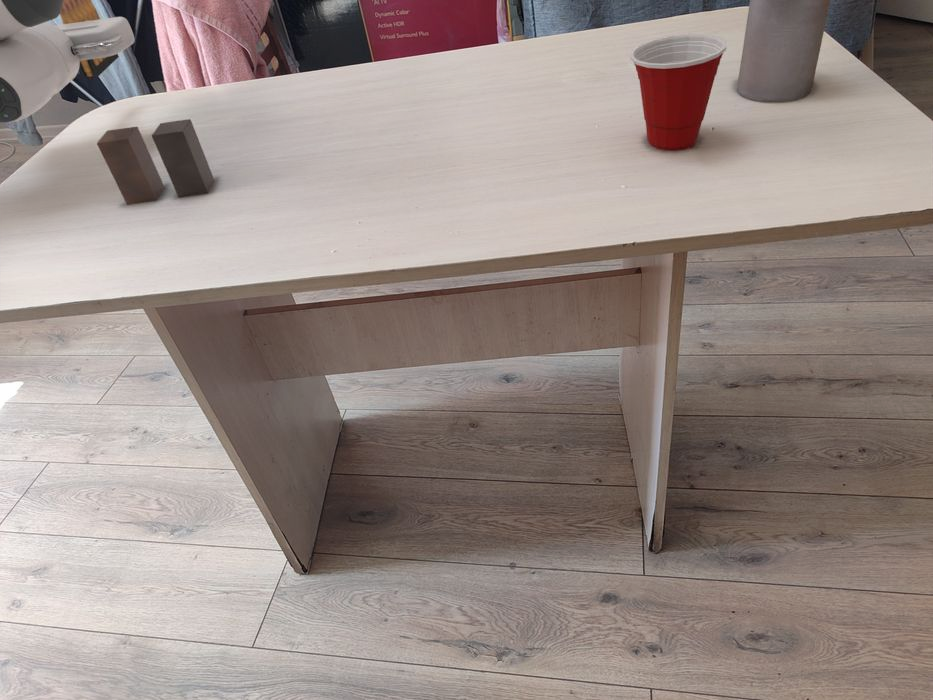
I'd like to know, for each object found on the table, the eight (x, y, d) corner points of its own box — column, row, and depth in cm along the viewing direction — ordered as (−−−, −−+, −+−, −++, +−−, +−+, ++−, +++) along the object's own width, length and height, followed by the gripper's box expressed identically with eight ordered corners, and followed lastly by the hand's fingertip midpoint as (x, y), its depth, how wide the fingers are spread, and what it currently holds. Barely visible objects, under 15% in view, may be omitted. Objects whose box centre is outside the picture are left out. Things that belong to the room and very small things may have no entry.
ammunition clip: (96, 78, 105) (58, -7, 98) (84, 79, 105) (45, -5, 98) (119, 56, 113) (85, -23, 106) (108, 58, 113) (73, -22, 106)
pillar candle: (775, 72, 99) (796, -44, 90) (827, 91, 92) (856, -32, 82) (721, 88, 97) (736, -28, 87) (770, 109, 90) (793, -15, 80)
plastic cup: (640, 122, 92) (645, 28, 84) (723, 129, 87) (737, 31, 79) (614, 157, 85) (617, 58, 77) (703, 167, 80) (715, 63, 72)
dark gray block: (179, 200, 90) (151, 135, 84) (187, 186, 93) (160, 123, 87) (208, 196, 90) (182, 131, 84) (215, 182, 93) (190, 118, 87)
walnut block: (128, 207, 90) (96, 143, 84) (137, 193, 93) (107, 130, 87) (157, 203, 90) (127, 138, 84) (165, 189, 93) (137, 126, 87)
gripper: (104, 21, 91) (136, -4, 101) (-45, 41, 91) (2, 14, 102) (124, 69, 95) (153, 40, 105) (-18, 88, 95) (24, 57, 106)
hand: (78, 27), depth 103 cm, fingers closed on ammunition clip, 2 cm apart
